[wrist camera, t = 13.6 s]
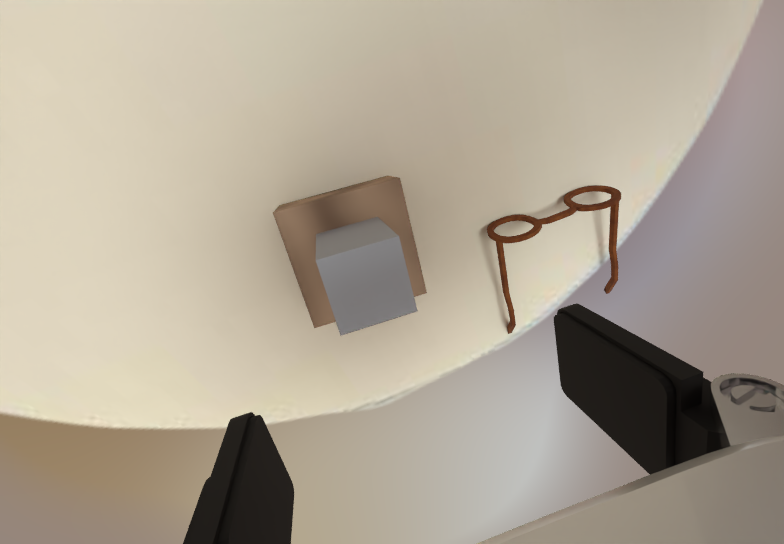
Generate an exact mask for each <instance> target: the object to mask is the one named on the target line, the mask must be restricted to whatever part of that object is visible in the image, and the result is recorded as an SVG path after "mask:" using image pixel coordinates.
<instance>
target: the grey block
mask: <svg viewBox="0 0 784 544" xmlns="http://www.w3.org/2000/svg"><path fill="white" fill-rule="evenodd" d="M316 263H317V266H318V269H319V272H320V275H321V278H322V281H323V284H324V287H325V290H326V293H327V296H328V299H329V302H330V305H331V308H332V311H333V314H334V317H335V320H336V323H337V326H338V329H339V332H340V335H344V334H347V333H350V332H353V331H357V330H360V329H363V328H366V327H369V326H372V325H375V324H379V323H382V322H385V321H388V320H391V319H394V318H397V317H401V316H404V315H407V314H410V313H413V312H416V311H417V307H416V303H415V299H414V295H413V291H412V287H411V283H410V279H409V275H408V271H407V267H406V263H405V258H404V254H403V250H402V246H401V242H400V238H399V236H398V235H397V234H396V233H395V232H394V231H393V230H392V229H391V228H390V227H388V226H387V225H386V224H385V223H384V222H383V221H382V220H381V219H379V218H378V217H375V218H371V219H368V220H364V221H361V222H357V223H354V224H350V225H347V226H343V227H340V228H336V229H333V230H329V231H326V232H322V233H319V234H316Z"/></svg>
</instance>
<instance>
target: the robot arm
mask: <svg viewBox="0 0 784 544" xmlns="http://www.w3.org/2000/svg"><path fill="white" fill-rule="evenodd" d="M554 326H555V335H556V345H557V354H558V363H559V373H560V381H561V387H562V389H563V391H564V393H565V394H566V396H567V397H568V398H569V399H570V400H572V401H573V402H574V403H575V404H576V405H577V406H578V407H579V408H580V409H581V410H582V411H583V412H584V413H585V414H586V415H587V416H589V417H590V418H591V419H592V420H593V421H594V422H595V423H596V424H597V425H598V426H599V427H600V428H601V429H602V430H603V431H604V432H606V433H607V434H608V435H609V436H610V437H611V438H612V439H613V440H614V441H615V442H616V443H617V444H618V445H619V446H620V447H621V448H623V449H624V450H625V451H626V452H627V453H628V454H629V455H630V456H631V457H632V458H633V459H634V460H635V461H636V462H637V463H638V464H640V466H642V467H643V468H644V469H645V470H646V471H647V472H648V473H649V474H650V475H649V476H646V477H643V478H641V479H638V480H636V481H633V482H631V483H628V484H626V485H623V486H620V487H618V488H615V489H613V490H611V491H608V492H605V493H603V494H600V495H597V496H595V497H592V498H590V499H587V500H585V501H582V502H580V503H577V504H575V505H572V506H570V507H567V508H565V509H562V510H559V511H557V512H554V513H552V514H549V515H547V516H544V517H542V518H539V519H537V520H535V521H532V522H529V523H527V524H524V525H522V526H519V527H517V528H514V529H512V530H509V531H507V532H504V533H502V534H500V535H497V536H494V537H492V538H489V539H487V540H485V541H482V542H480V543H477V544H784V385H782V384H780V383H778V382H775V381H773V380H771V379H767V378H764V377H760V376H756V375H750V374H734V373H733V374H732V373H731V374H726V375H721V376H719V377H717V378H715V379H714V380H713V381H712V382H710V381H709V380H707V379H705V378H703V372H702V371H700V370H699V369H697V368H695V367H693V366H691V365H689V364H688V363H686V362H684V361H682V360H680V359H678V358H676V357H675V356H673V355H671V354H669V353H667V352H666V351H664V350H662V349H660V348H658V347H656V346H654V345H653V344H651V343H649V342H647V341H645V340H643V339H642V338H640V337H638V336H636V335H635V334H632V333H631V332H629V331H627V330H625V329H623V328H622V327H620V326H618V325H616V324H614V323H613V322H611V321H609V320H607V319H605V318H603V317H602V316H600V315H598V314H596V313H594V312H592V311H590V310H589V309H587V308H585V307H583V306H581V305H579V304H573V305H570V306H567V307H564V308H561V309H559V310H558V312H557V315H555V317H554ZM293 504H294V488H293V484H292V481H291V479H290V476H289V474H288V472H287V470H286V468H285V466H284V463H283V461H282V459H281V457H280V455H279V453H278V450H277V448H276V446H275V444H274V442H273V440H272V438H271V435H270V433H269V431H268V429H267V427H266V425H265V422H264V420H263V418H262V417H261V416H260V415H257V416H255V415H254V414H253V413H252V412H250V413H247V414H244V415H241V416H238V417H235V418H232V419H231V420H230V422H229V424H228V427H227V430H226V433H225V436H224V439H223V442H222V445H221V448H220V450H219V453H218V457H217V459H216V462H215V465H214V468H213V471H212V474H211V477H209V478H208V479H207V480H206V482H205V484H204V486H203V489H202V492H201V494H200V497H199V500H198V503H197V506H196V508H195V511H194V514H193V517H192V520H191V523H190V525H189V528H188V531H187V534H186V537H185V540H184V543H183V544H291V531H292V516H293Z"/></svg>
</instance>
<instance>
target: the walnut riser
mask: <svg viewBox="0 0 784 544" xmlns="http://www.w3.org/2000/svg"><path fill="white" fill-rule="evenodd" d="M273 214H274V217H275V220H276V223H277V225H278V228H279V231H280V234H281V236H282V239H283V242H284V245H285V248H286V250H287V253H288V256H289V259H290V261H291V264H292V267H293V270H294V272H295V275H296V278H297V281H298V284H299V286H300V289H301V292H302V295H303V297H304V300H305V303H306V306H307V309H308V311H309V314H310V317H311V320H312V322H313V325H314V328H316V327H320V326H323V325H326V324H329V323H332V322H336V320H335V317H334V314H333V311H332V308H331V305H330V302H329V299H328V296H327V293H326V290H325V287H324V284H323V281H322V278H321V275H320V272H319V269H318V266H317V263H316V234H319V233H322V232H326V231H329V230H333V229H336V228H340V227H343V226H347V225H350V224H354V223H357V222H361V221H364V220H368V219H371V218H375V217H378V218H379V219H381V220H382V221H383V222H384V223H385V224H386V225H387V226H388V227H390V228H391V229H392V230H393V231H394V232H395V233H396V234H397V235H398V236H399V238H400V242H401V246H402V250H403V254H404V258H405V263H406V267H407V271H408V275H409V279H410V283H411V287H412V291H413V295H414V297H415V296H418V295H421V294H425V293H427V292H426V288H425V284H424V279H423V275H422V271H421V267H420V262H419V258H418V254H417V249H416V245H415V241H414V237H413V232H412V228H411V224H410V220H409V215H408V211H407V207H406V202H405V198H404V194H403V190H402V185H401V181H400V178H398V177H392V176H385V177H382V178H378V179H374V180H371V181H367V182H363V183H360V184H356V185H352V186H349V187H345V188H341V189H338V190H334V191H330V192H327V193H323V194H319V195H316V196H312V197H308V198H305V199H301V200H297V201H294V202H290V203H286V204H283V205H279V207H278V208H277V209H276V210H275V211H274V212H273Z"/></svg>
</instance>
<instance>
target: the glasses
mask: <svg viewBox="0 0 784 544" xmlns="http://www.w3.org/2000/svg"><path fill="white" fill-rule="evenodd" d="M590 191H601V192H606V193H609V194H611V199H610V200H608V201H605V202H602V203H599V204H592V205H582V204H578V203H575V202H573V201H572V200H571V198H573V197H574V196H576V195H578V194H581V193H585V192H590ZM620 199H621V192H620V191H619V190H617V189H615V188H612V187H608V186H587V187H582V188H578V189H575V190H573V191H571V192H569V193H567V194H566V195H565V196H564V203H565V204H566V205H567V206H568V207H570V208H569V209H567V210H565V211H562V212H560V213H557V214H555V215H552V216H550V217H547V218H543V219H536V218H534V217H531V216H527V215H511V216H507V217H503V218H500V219H498V220H496V221H494V222H492V223H491V224H490V225H489V226H488V228H487V233H488V236H489V237H490V238H491V239H492V240H494V241H496V246H497V253H498V260H499V267H500V274H501V281H502V288H503V293H504V297H505V300H506V303H507V307H508V311H509V316H510V322H509V324H508V327H507V329H508V334H509V333H512V331H513V329H514V327H515V325H516V324H515V316H514V309H513V305H512V302H511V298H510V294H509V287H508V280H507V272H506V265H505V257H504V249H503V243H515V242H520V241H524V240H527V239H529V238H531V237H533V236H535V235H536V234H537V233H539V231H540V230H541V228H542V224H548V223H552V222H555V221H557V220H560V219H563V218H565V217H568V216H570V215H572V214H574V213H575V212H576V211H594V210H600V209H604V208H608V207H610V206H611V212H610V234H609V254H610V260H611V279H610V280H609V282H608V283H607V285H606V287H605V288H604V291H605V292H606V294H607V293H609V292H610V291H611V290H612V288H613V287H614V285H615V284H616V282H617V281H618V261H617V253H616V244H617V227H618V210H619V201H620ZM517 220H519V221H526V222H529V223H531V224H532V225H534V227H533V228H532V229H531V230H530V231H528V232H526V233H524V234H521V235H517V236H511V237H506V236H500V235H498V234H496V233H495V232H494V229H495V228H496V227H497V226H499V225H501V224H503V223H506V222H510V221H517Z"/></svg>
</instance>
